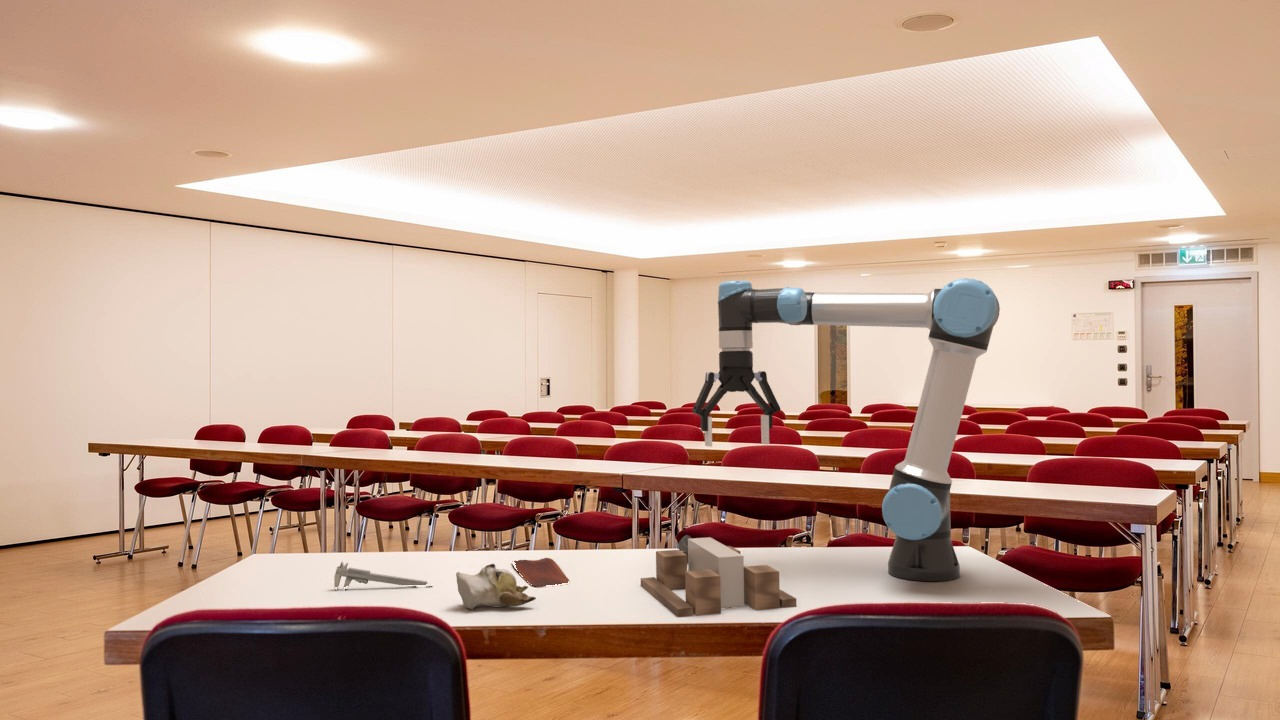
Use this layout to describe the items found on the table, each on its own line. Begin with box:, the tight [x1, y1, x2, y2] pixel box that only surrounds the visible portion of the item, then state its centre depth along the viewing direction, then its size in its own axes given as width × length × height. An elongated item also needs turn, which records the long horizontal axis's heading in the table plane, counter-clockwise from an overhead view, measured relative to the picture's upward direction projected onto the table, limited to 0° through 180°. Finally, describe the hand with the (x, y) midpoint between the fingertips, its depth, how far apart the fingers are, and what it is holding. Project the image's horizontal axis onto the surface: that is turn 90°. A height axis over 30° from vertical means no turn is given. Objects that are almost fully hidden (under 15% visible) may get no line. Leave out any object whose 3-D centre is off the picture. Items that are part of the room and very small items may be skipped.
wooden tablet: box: [513, 557, 570, 588], centre depth 210 cm, size 27×10×2 cm, turn 16°
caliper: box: [333, 561, 428, 588], centre depth 197 cm, size 20×1×6 cm, turn 96°
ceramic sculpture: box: [455, 563, 537, 610], centre depth 181 cm, size 11×9×15 cm
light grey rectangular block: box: [687, 536, 745, 609], centre depth 187 cm, size 5×20×10 cm, turn 14°
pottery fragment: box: [677, 534, 692, 556], centre depth 224 cm, size 15×12×4 cm
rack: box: [640, 545, 797, 618], centre depth 187 cm, size 24×26×7 cm
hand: (737, 445), depth 207 cm, fingers open, 13 cm apart
